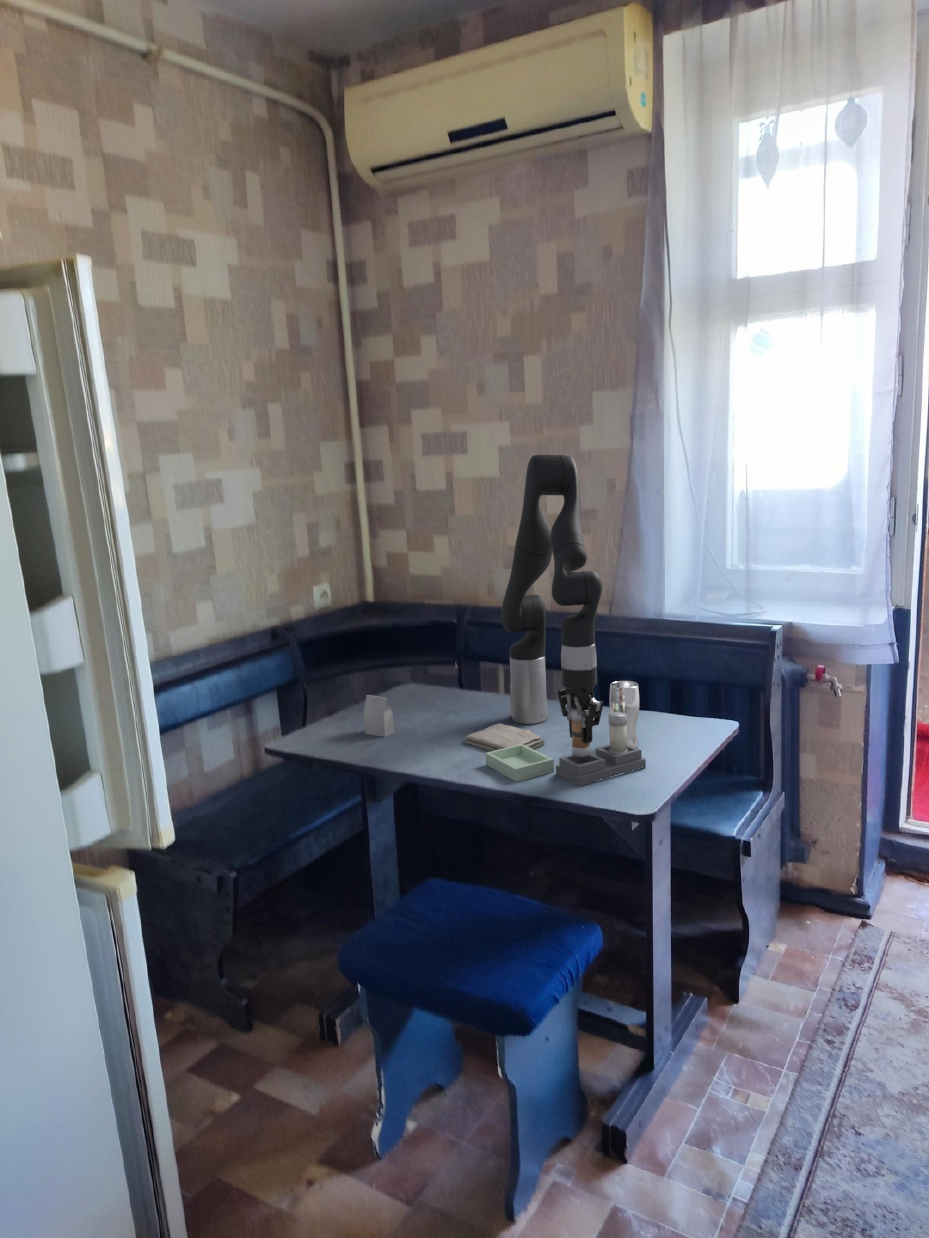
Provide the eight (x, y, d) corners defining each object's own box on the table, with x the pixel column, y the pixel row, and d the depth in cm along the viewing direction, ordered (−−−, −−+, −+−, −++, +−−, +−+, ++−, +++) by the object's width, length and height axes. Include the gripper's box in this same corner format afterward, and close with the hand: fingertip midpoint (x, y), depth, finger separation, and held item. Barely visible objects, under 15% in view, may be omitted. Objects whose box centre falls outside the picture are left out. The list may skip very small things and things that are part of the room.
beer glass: (618, 751, 213) (616, 689, 210) (605, 742, 220) (604, 682, 217) (645, 747, 215) (644, 686, 212) (632, 738, 221) (631, 679, 218)
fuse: (605, 756, 204) (604, 714, 202) (619, 753, 206) (619, 711, 204) (617, 761, 201) (616, 718, 199) (631, 757, 203) (630, 715, 201)
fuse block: (556, 773, 201) (555, 756, 200) (620, 756, 210) (619, 739, 209) (580, 786, 193) (579, 768, 193) (645, 767, 202) (645, 750, 201)
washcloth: (514, 760, 213) (513, 747, 212) (462, 744, 226) (461, 732, 225) (548, 746, 220) (547, 734, 220) (495, 732, 233) (495, 720, 233)
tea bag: (385, 737, 233) (382, 699, 231) (365, 733, 237) (362, 696, 235) (394, 732, 236) (391, 696, 234) (374, 729, 240) (371, 693, 238)
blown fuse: (568, 753, 199) (567, 709, 197) (583, 749, 201) (582, 706, 199) (579, 758, 196) (578, 714, 194) (594, 754, 198) (593, 710, 196)
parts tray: (486, 764, 209) (485, 752, 209) (522, 755, 214) (522, 743, 213) (516, 781, 198) (515, 769, 197) (554, 771, 203) (553, 759, 202)
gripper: (545, 660, 198) (548, 734, 202) (584, 673, 186) (586, 752, 190) (573, 654, 202) (575, 728, 206) (613, 667, 190) (615, 745, 193)
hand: (581, 739), depth 198 cm, fingers closed on blown fuse, 4 cm apart
